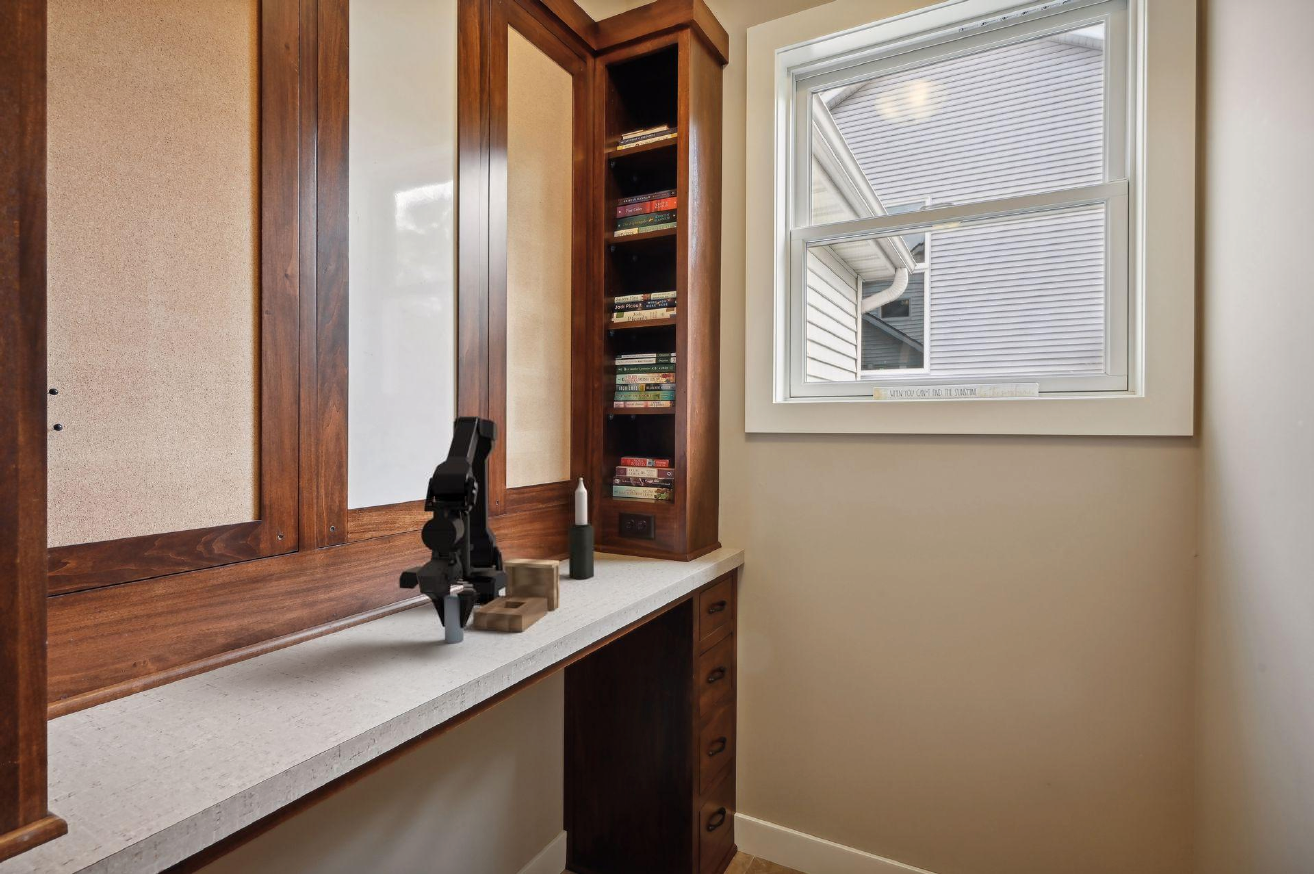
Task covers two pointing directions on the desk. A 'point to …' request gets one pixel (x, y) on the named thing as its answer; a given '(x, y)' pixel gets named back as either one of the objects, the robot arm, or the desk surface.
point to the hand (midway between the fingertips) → (454, 627)
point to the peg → (452, 619)
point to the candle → (581, 539)
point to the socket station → (522, 596)
